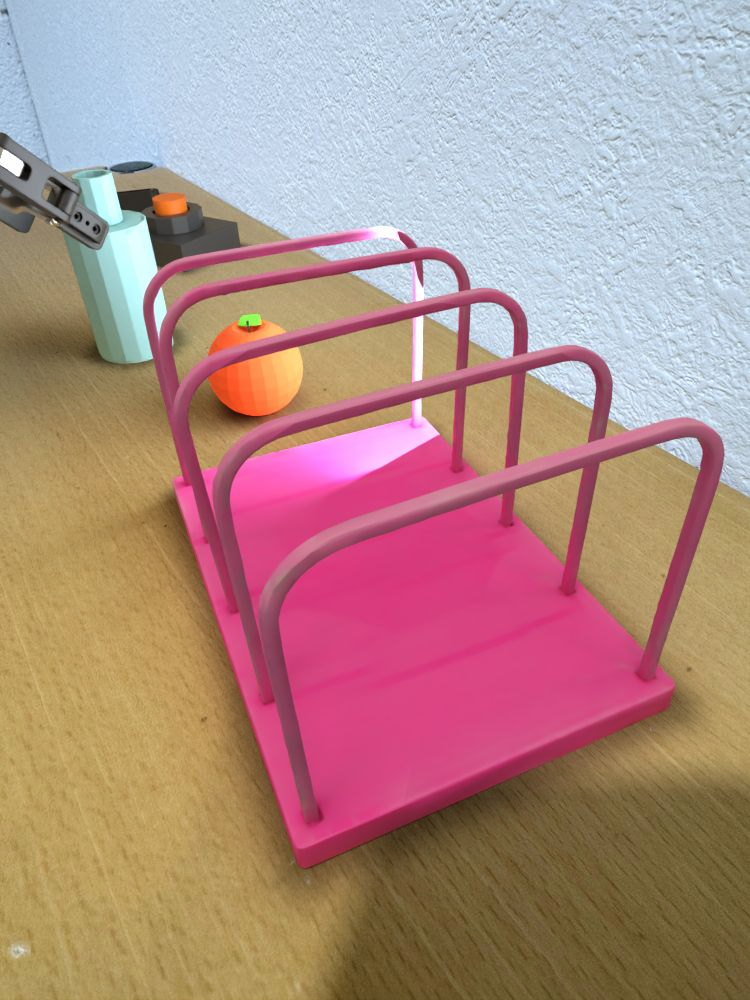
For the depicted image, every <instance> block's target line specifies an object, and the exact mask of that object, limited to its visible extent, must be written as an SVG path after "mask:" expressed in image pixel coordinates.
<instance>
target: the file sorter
mask: <svg viewBox="0 0 750 1000" xmlns="http://www.w3.org/2000/svg"><path fill="white" fill-rule="evenodd" d="M374 239H391V240H394V241H397V242H398V243H401V245H403V246H404V247H405V249H400V250H392V251H386V252H382V253H376V254H369V255H363V256H356V257H350V258H344V259H337V260H332V261H325V262H320V263H313V264H308V265H303V266H297V267H290V268H285V269H284V268H283V269H279V270H273V271H267V272H261V273H256V274H251V275H250V274H249V275H244V276H240V277H233V278H228V279H223V280H217V281H213V282H209V283H204V284H200V285H198V286H195V287H193V288H191V289H189V290H187V291H185V292H184V293H183V294H182V295H181V296H179V297H178V298H176V300H175V301H174V302H173V303H172V304H171V306H170V307H169V308H168V309H167V313H166V315H165V317H164V319H163V321H162V324H161V328H160V332H159V336H158V331H157V326H156V321H155V314H154V302H155V299H156V297H157V295H158V292H159V290H160V288H161V287H163V286H164V284H165V283H167V282H168V280H169V279H171V278H172V277H173V276H175V275H177V274H179V273H181V272H183V271H186V270H189V269H192V270H194V269H193V268H195V269H198V268H204V267H210V266H214V265H221V264H227V263H232V262H239V261H245V260H250V259H256V258H263V257H269V256H274V255H278V254H283V253H284V254H285V253H290V252H291V253H292V252H297V251H304V250H308V249H313V248H314V249H315V248H319V247H330V246H336V245H342V244H347V243H356V242H362V241H368V240H374ZM426 260H431V261H437V262H441V263H443V264H446V265H447V266H448V267H449V268H450V269H451V270H452V271H453V273H454V275H455V278H456V282H457V287H458V288H457V289H458V291H456V292H452V293H447V294H442V295H437V296H433V297H428V298H424V296H425V295H424V261H426ZM410 263H411V265H412V301H411V302H407V303H403V304H398V305H395V306H389V307H386V308H381V309H378V310H373V311H368V312H364V313H359V314H356V315H355V314H354V315H351V316H347V317H343V318H340V319H336V320H332V321H327V322H323V323H319V324H314V325H310V326H307V327H302V328H299V329H294V330H291V331H285V332H286V333H282V334H278V335H274V336H271V337H267V338H263V339H259V340H255V341H251V342H248V343H244V344H240V345H236V346H233V347H229V348H226V349H223V350H220V351H218V352H215V353H213V354H211V355H210V356H208V355H207V356H208V357H207V356H206V357H204V358H203V359H201V360H200V361H199V362H197V363H196V364H195V365H194V366H193V367H192V368H191V369H190V370H189V372H188V373H187V374H186V375H185V377H183V379H182V380H181V383H180V380H179V375H178V370H177V366H176V361H175V356H174V351H173V346H172V337H173V338H174V332H175V329H176V326H177V323H178V322H179V320H180V318H181V317H182V316H183V314H184V313H186V311H187V310H188V309H190V308H191V307H193V306H194V305H196V304H198V303H200V302H202V301H204V300H205V301H206V300H208V299H211V298H216V297H220V296H227V295H230V294H236V293H237V294H238V293H241V292H247V291H252V290H258V289H263V288H268V287H269V288H270V287H273V286H278V285H279V286H280V285H285V284H291V283H296V282H302V281H306V280H307V281H308V280H313V279H319V278H324V277H334V276H339V275H344V274H348V273H349V274H350V273H352V272H357V271H368V270H374V269H378V268H383V267H389V266H397V265H404V264H410ZM485 303H487V304H495V305H498V306H500V307H501V308H503V309H504V310H505V311H506V312H507V313H508V314H509V316H510V319H511V322H512V325H513V349H512V356H509V357H506V358H502V359H498V360H494V361H490V362H486V363H482V364H478V365H473V366H470V367H468V365H469V349H470V331H471V330H470V329H471V308H472V307H471V306H472V305H475V304H485ZM453 309H458V321H457V322H458V323H457V324H458V325H457V327H458V328H457V344H456V345H457V347H456V360H455V361H456V362H455V370H454V371H450V372H446V373H442V374H438V375H434V376H430V377H427V378H426V377H425V378H423V346H424V345H423V343H424V336H423V335H424V334H423V333H424V316H427V315H431V314H435V313H440V312H444V311H448V310H453ZM143 315H144V321H145V326H146V330H147V335H148V339H149V344H150V348H151V352H152V356H153V359H152V360H153V364H154V368H155V372H156V376H157V380H158V385H159V388H160V392H161V396H162V400H163V404H164V408H165V412H166V416H167V421H168V424H169V428H170V432H171V435H172V440H173V444H174V447H175V452H176V456H177V460H178V463H179V467H180V472H181V474H182V475H178V476H175V477H173V479H172V482H171V483H172V488H173V491H174V492H173V493H174V497H175V501H176V504H177V507H178V509H179V512H180V515H181V518H182V522H183V524H184V528H185V530H186V533H187V537H188V539H189V543H190V546H191V549H192V552H193V555H194V558H195V560H196V564H197V566H198V570H199V572H200V575H201V578H202V581H203V585H204V588H205V591H206V594H207V597H208V600H209V603H210V606H211V609H212V612H213V615H214V618H215V621H216V624H217V627H218V630H219V633H220V637H221V640H222V642H223V645H224V648H225V651H226V655H227V657H228V660H229V663H230V666H231V670H232V672H233V676H234V677H235V678H234V679H235V681H236V684H237V687H238V690H239V693H240V696H241V700H242V702H243V705H244V708H245V711H246V714H247V717H248V720H249V723H250V726H251V730H252V732H253V734H254V739H255V742H256V744H257V747H258V751H259V753H260V754H259V755H260V757H261V760H262V762H263V765H264V769H265V771H266V775H267V778H268V780H269V783H270V786H271V789H272V792H273V795H274V798H275V801H276V804H277V808H278V810H279V813H280V817H281V819H282V822H283V825H284V829H285V832H286V835H287V838H288V841H289V844H290V846H291V850H292V853H293V856H294V860H295V862H296V864H297V866H298V867H299V868H301V869H308V868H311V867H314V866H315V865H318V864H320V863H323V862H325V861H327V860H329V859H332V858H334V857H336V856H339V855H341V854H343V853H345V852H348V851H350V850H352V849H354V848H357V847H358V846H361V845H363V844H365V843H368V842H370V841H372V840H375V839H377V838H379V837H382V836H383V835H386V834H388V833H390V832H393V831H395V830H397V829H399V828H400V829H401V828H402V827H404V826H406V825H409V824H411V823H413V822H415V821H417V820H420V819H422V818H424V817H427V816H428V815H431V814H434V813H436V812H438V811H440V810H442V809H444V808H447V807H449V806H452V805H454V804H456V803H458V802H460V801H463V800H465V799H467V798H469V797H472V796H474V795H476V794H478V793H481V792H483V791H485V790H487V789H490V788H492V787H494V786H496V785H499V784H501V783H503V782H506V781H508V780H510V779H513V778H515V777H518V776H520V775H522V774H524V773H526V772H529V771H531V770H534V769H535V768H538V767H540V766H542V765H545V764H547V763H549V762H551V761H554V760H557V759H559V758H561V757H563V756H565V755H567V754H570V753H572V752H574V751H577V750H580V749H581V748H584V747H586V746H588V745H590V744H593V743H595V742H597V741H599V740H601V739H603V738H606V737H609V736H610V735H613V734H615V733H617V732H620V731H622V730H624V729H627V728H628V727H631V726H633V725H635V724H637V723H639V722H642V721H644V720H646V719H649V718H651V717H653V716H656V715H658V714H660V713H662V712H665V711H666V710H668V709H669V707H670V704H671V701H672V698H673V696H674V693H675V690H676V685H677V684H676V683H675V681H674V679H673V678H672V677H671V676H670V675H669V674H668V672H667V671H665V670H664V669H663V667H661V665H659V663H660V659H661V656H662V654H663V650H664V647H665V644H666V641H667V639H668V636H669V632H670V629H671V626H672V623H673V620H674V617H675V614H676V611H677V608H678V606H679V602H680V600H681V597H682V594H683V591H684V588H685V585H686V582H687V579H688V576H689V573H690V570H691V567H692V563H693V561H694V558H695V555H696V552H697V550H698V546H699V544H700V540H701V537H702V535H703V531H704V528H705V525H706V522H707V519H708V516H709V513H710V510H711V507H712V505H713V501H714V499H715V496H716V492H717V490H718V487H719V483H720V480H721V476H722V472H723V466H724V461H725V455H726V454H725V446H724V445H725V444H724V440H723V439H722V437H721V435H720V434H719V433H718V431H716V430H715V429H714V428H712V427H711V426H709V425H708V424H706V423H704V422H703V421H701V420H699V419H696V418H694V417H688V416H687V417H686V416H685V417H683V416H682V417H675V418H669V419H663V420H660V421H657V422H654V423H651V424H647V425H643V426H640V427H637V428H633V429H630V430H626V431H624V432H620V433H617V434H613V435H610V436H607V437H606V435H607V434H606V433H607V428H608V424H609V423H608V422H609V416H610V412H611V408H612V400H613V388H614V387H613V386H614V381H613V377H612V376H613V375H612V372H611V371H610V368H609V366H608V364H607V363H606V360H604V359H603V358H602V357H601V356H600V355H599V354H597V353H596V352H595V351H593V350H591V349H589V348H587V347H585V346H581V345H577V344H564V345H559V346H552V347H547V348H543V349H539V350H534V351H530V352H528V349H529V348H528V347H529V326H528V319H527V317H526V314H525V311H524V310H523V307H522V306H521V305H520V304H519V303H518V302H517V301H516V299H514V298H513V297H511V296H510V295H508V294H507V293H506V292H504V291H502V290H499V289H497V288H492V287H476V288H471V281H470V277H469V274H468V272H467V269H466V267H465V266H464V264H463V263H462V261H461V260H459V259H458V258H457V257H456V256H455V255H454V254H452V253H451V252H449V251H447V250H444V249H443V248H439V247H436V246H421V247H418V245H417V243H416V242H415V241H414V240H413V238H412V237H410V236H409V235H408V234H406V232H404V231H402V230H400V229H397V228H395V227H392V226H384V225H380V226H372V227H364V228H356V229H349V230H343V231H336V232H329V233H323V234H316V235H309V236H304V237H298V238H291V239H285V240H278V241H272V242H266V243H260V244H253V245H248V246H241V248H235V249H229V250H223V251H217V252H211V253H205V254H200V255H195V256H189V257H184V258H181V259H178V260H175V261H173V262H171V263H169V264H167V265H165V266H164V267H161V268H160V269H159V270H158V272H157V273H156V274H155V276H154V277H153V278H152V279H151V281H150V283H149V284H148V286H147V288H146V291H145V294H144V298H143ZM411 319H412V367H411V368H412V369H411V371H412V373H411V374H412V375H411V381H410V382H406V383H404V384H403V383H402V384H399V385H395V386H391V387H387V388H383V389H380V390H376V391H372V392H369V393H364V394H360V395H356V396H353V397H349V398H346V399H342V400H341V399H340V400H339V401H338V400H337V401H335V402H331V403H327V404H323V405H319V406H316V407H312V408H309V409H305V410H301V411H297V412H294V413H289V414H287V415H284V416H281V417H280V416H279V417H277V418H273V419H270V420H268V421H266V422H263V423H261V424H259V425H257V426H256V427H254V428H253V429H251V430H249V431H248V432H246V433H245V434H244V435H242V437H240V439H238V440H237V441H236V442H235V443H234V444H232V446H231V447H230V448H229V449H228V450H227V451H226V453H225V454H224V455H223V457H222V458H221V460H220V462H219V463H218V466H214V467H210V468H206V469H202V468H201V465H200V462H199V457H198V454H197V450H196V446H195V442H194V439H193V435H192V431H191V427H190V419H189V412H190V405H191V402H192V400H193V397H194V395H195V393H196V392H197V390H198V388H199V387H200V386H202V384H203V383H204V382H205V381H206V380H208V377H209V376H210V375H212V374H213V373H215V372H216V371H218V370H219V369H222V368H224V367H227V366H230V365H233V364H236V363H239V362H243V361H246V360H249V359H254V358H258V357H262V356H265V355H269V354H273V353H277V352H280V351H284V350H288V349H291V348H295V347H298V348H300V347H303V346H306V345H310V344H315V343H319V342H322V341H326V340H330V339H334V338H337V337H342V336H346V335H350V334H352V333H357V332H361V331H365V330H368V329H373V328H377V327H382V326H385V325H386V326H387V325H392V324H394V323H395V324H396V323H399V322H402V321H407V320H411ZM566 362H580V363H583V364H585V365H587V366H588V367H589V368H590V370H591V372H592V374H593V377H594V381H595V392H594V401H593V409H592V416H591V421H590V427H589V432H588V436H587V437H588V438H587V443H583V444H580V445H577V446H574V447H573V446H572V447H571V448H568V449H564V450H560V451H558V452H557V451H556V452H554V453H551V454H548V455H544V456H542V457H538V458H535V459H531V460H529V461H526V462H523V463H519V455H520V454H519V453H520V442H521V441H520V440H521V431H522V421H523V411H524V409H523V408H524V399H525V398H524V397H525V387H526V374H527V372H530V371H533V370H537V369H540V368H544V367H549V366H554V365H557V364H560V363H566ZM505 377H511V379H510V394H509V407H508V408H509V409H508V410H509V411H508V425H507V427H508V428H507V434H506V453H505V458H504V459H505V460H504V468H502V469H501V470H500V469H499V470H497V471H493V472H491V473H487V474H484V475H482V476H480V475H479V474H478V473H477V472H476V470H475V469H473V468H472V466H471V465H469V463H468V462H467V461H466V460H465V459H464V458H463V452H464V451H463V450H464V434H465V420H466V419H465V418H466V401H467V387H470V386H474V385H477V384H482V383H486V382H490V381H494V380H497V379H501V378H505ZM451 391H454V405H453V406H454V408H453V410H454V411H453V424H452V425H453V426H452V445H451V444H450V443H449V442H448V441H447V440H446V439H445V437H443V435H442V434H440V433H439V432H438V431H437V430H436V428H435V427H433V425H432V424H431V423H430V422H429V421H428V420H427V419H426V417H424V416H422V399H425V398H430V397H434V396H437V395H440V394H444V393H447V392H451ZM410 402H411V417H410V418H406V419H403V420H399V421H394V422H389V423H386V424H382V425H377V426H374V427H370V428H365V429H362V430H358V431H353V432H349V433H346V434H342V435H337V436H334V437H329V438H326V439H322V440H321V439H320V440H318V441H314V442H309V443H306V444H300V445H298V446H293V447H289V448H286V449H285V448H284V449H281V450H277V451H273V452H269V453H266V454H262V455H261V454H260V455H257V456H253V457H251V456H252V455H254V454H255V453H256V452H258V451H259V450H260V449H262V448H263V447H265V446H267V445H269V444H271V443H272V442H273V443H274V442H275V441H276V440H279V439H282V438H285V437H288V436H293V435H295V434H299V433H302V432H305V431H308V430H309V431H310V430H312V429H316V428H320V427H323V426H326V425H330V424H334V423H338V422H340V421H345V420H349V419H353V418H357V417H360V416H364V415H367V414H371V413H374V412H377V411H381V410H384V409H388V408H393V407H396V406H400V405H404V404H406V403H410ZM687 438H688V439H689V438H691V439H696V440H697V442H698V443H699V446H700V448H701V451H702V452H701V453H702V455H701V459H700V465H699V466H700V467H699V472H698V474H697V477H696V480H695V484H694V489H693V491H692V495H691V498H690V501H689V505H688V508H687V511H686V514H685V518H684V521H683V524H682V527H681V529H680V533H679V536H678V539H677V543H676V545H675V549H674V553H673V556H672V559H671V561H670V565H669V568H668V572H667V575H666V578H665V580H664V585H663V588H662V591H661V594H660V596H659V599H658V603H657V606H656V610H655V614H654V616H653V621H652V624H651V627H650V631H649V635H648V638H647V642H646V645H645V648H643V647H642V646H641V645H640V644H639V643H638V642H637V641H636V639H634V637H633V636H632V635H631V634H630V633H629V631H627V630H626V629H625V628H624V627H623V626H622V625H621V624H620V623H619V622H618V621H617V620H616V618H615V617H614V616H613V615H612V614H610V612H609V611H608V610H607V609H606V608H605V607H604V606H603V605H602V604H601V603H600V602H599V601H598V600H597V599H596V598H595V597H594V596H593V594H592V593H590V591H588V589H586V587H585V586H584V585H583V584H582V583H581V582H580V581H579V580H578V573H579V569H580V565H581V559H582V555H583V548H584V545H585V539H586V535H587V530H588V525H589V519H590V515H591V511H592V504H593V501H594V500H593V498H594V495H595V489H596V484H597V479H598V473H599V469H600V464H601V463H603V462H607V461H609V460H612V459H616V458H620V457H622V456H626V455H628V454H632V453H634V452H637V451H640V450H645V449H647V448H651V447H654V446H657V445H660V444H663V443H667V442H671V441H675V440H678V439H679V440H680V439H687ZM581 469H582V472H581V476H580V482H579V487H578V493H577V499H576V505H575V509H574V515H573V520H572V521H573V522H572V527H571V531H570V536H569V541H568V545H567V552H566V558H565V562H564V563H565V564H563V563H562V562H561V560H559V559H558V558H557V557H556V556H555V554H554V553H553V552H552V551H551V550H550V549H549V548H548V546H546V545H545V544H544V543H543V542H542V540H541V539H539V537H537V535H536V534H535V533H534V532H533V531H532V530H531V529H530V528H529V527H528V526H527V525H526V524H525V523H524V521H523V520H521V518H520V517H519V516H518V515H517V514H516V513H515V512H514V507H515V500H516V499H515V497H516V490H519V489H522V488H525V487H529V486H531V485H534V484H538V483H541V482H544V481H547V480H550V479H553V478H556V477H559V476H563V475H566V474H568V473H572V472H576V471H578V470H581ZM500 495H501V496H502V497H500Z"/></svg>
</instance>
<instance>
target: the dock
mask: <svg viewBox="0 0 750 1000" xmlns="http://www.w3.org/2000/svg"><path fill="white" fill-rule="evenodd" d="M186 203H187V208H188V211H187V212H184V213H181V214H176V215H168V216H160V215H155V210H154V206H151V207H148V208H145V209H144V210H143V211H142V212H141V214H143V215H145V217H146V222H147V226H148V230H149V235H150V239H151V243H152V248H153V252H154V256H155V261H156V265H157V267H161V268H163V267H164V266H165V265H167V264H169V263H171V262H173V261H175V260H178V259H181V258H184V257H189V256H195V255H200V254H205V253H211V252H217V251H223V250H229V249H235V248H241V247H242V246H241V240H240V233H239V226H238V221H233V220H226V219H221V218H216V217H210V216H205V215H204V214H203V213H204V212H203V207H202V206H201V205H200V204H198V203H195V202H191V201H186ZM195 269H196V268H193V269H189V270H186V271H182V272H183V273H188V272H190V271H192V270H195Z"/></svg>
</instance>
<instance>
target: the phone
mask: <svg viewBox="0 0 750 1000" xmlns="http://www.w3.org/2000/svg"><path fill="white" fill-rule="evenodd" d="M116 192H117V196H118V200H119V204H120V208H121V210H130V211H135V212H140V213H141V212H142V211H143V210H144V209H145V208H148V207H151V206H153V201H152V198H153V197H155V196H157V195H160V194H161V193H160V191H159V188H155V187H151V188H141V189H139V188H138V189H131V190H123V191H122V190H121V191H116Z"/></svg>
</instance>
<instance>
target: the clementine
mask: <svg viewBox="0 0 750 1000" xmlns="http://www.w3.org/2000/svg"><path fill="white" fill-rule="evenodd" d="M286 332H287V331H285V330H284V329H283V328H282V327H281V326H279V325H277V324H274V323H273V322H270V321H268V320H265V319H262V318H261V315H260V314H259V313H252V314H250V313H249V314H243V315H242V316H241V317H240V318H239V320H237V321H235V322H234V321H233V322H232V323H231V324H229V325H228V326H226V327H225V328H224V329H222V330H221V331H220V332H219V333H218V334H217V335H216V337H215V338H214V340H213V342H211V343H212V344H211V345H210V347H209V349H208V353H207V356H206V357H208V356H210V355H211V354H213V353H215V352H218V351H220V350H223V349H226V348H229V347H233V346H236V345H240V344H244V343H248V342H251V341H255V340H259V339H263V338H267V337H271V336H274V335H278V334H282V333H286ZM303 371H304V364H303V360H302V355H301V352H300V349H299V347H295V348H291V349H288V350H284V351H280V352H277V353H273V354H269V355H265V356H262V357H258V358H254V359H249V360H246V361H243V362H239V363H236V364H233V365H230V366H227V367H224V368H222V369H219V370H218V371H216V372H215V373H213V374H212V375H210V376H209V377H208V378H207V380H208V383H209V385H210V388H211V390H212V391H213V393H214V394H215V396H216V397H217V398H218V399H219V400H220V402H221V403H222V404H223V405H225V406H226V407H228V408H229V409H231V410H232V411H233V412H236V413H239V414H241V415H246V416H250V417H251V416H252V417H263V416H268V415H272V414H274V413H277V412H278V411H280V410H282V409H283V408H284V407H286V406H288V404H289V403H290V402H291V401H292V400H293V398H294V397H295V396H296V394H297V393H298V392H299V389H300V386H301V383H302V379H303V374H304V373H303Z"/></svg>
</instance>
